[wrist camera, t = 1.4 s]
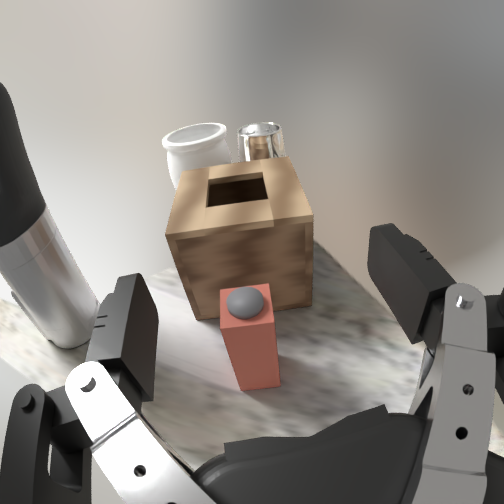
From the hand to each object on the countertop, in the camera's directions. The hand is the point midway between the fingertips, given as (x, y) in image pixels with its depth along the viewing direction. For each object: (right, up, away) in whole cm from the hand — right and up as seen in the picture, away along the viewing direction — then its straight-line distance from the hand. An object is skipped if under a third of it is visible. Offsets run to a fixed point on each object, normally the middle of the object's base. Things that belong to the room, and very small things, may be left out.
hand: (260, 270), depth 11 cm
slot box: (-1, -2, +32) cm, 32 cm away
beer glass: (+2, +7, +43) cm, 44 cm away
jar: (-8, +8, +46) cm, 47 cm away
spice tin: (0, -12, +21) cm, 24 cm away
